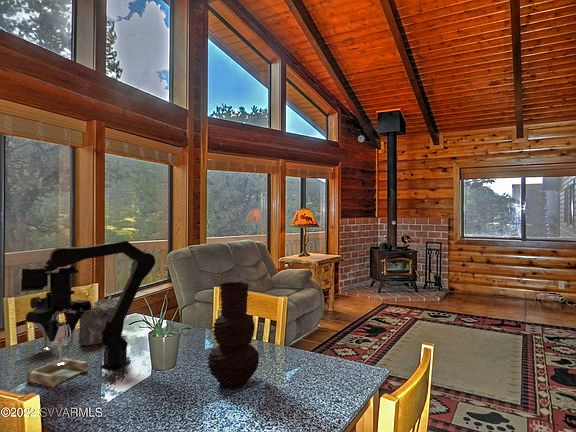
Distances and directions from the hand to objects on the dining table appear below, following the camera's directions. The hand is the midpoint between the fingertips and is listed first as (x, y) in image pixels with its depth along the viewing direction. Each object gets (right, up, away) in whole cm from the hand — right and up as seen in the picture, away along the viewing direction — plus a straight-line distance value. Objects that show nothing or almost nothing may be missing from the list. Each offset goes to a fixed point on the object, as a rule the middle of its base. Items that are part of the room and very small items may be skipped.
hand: (60, 338), depth 120 cm
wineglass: (0, -8, 0) cm, 8 cm away
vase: (+54, -13, -4) cm, 56 cm away
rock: (-4, -12, +37) cm, 39 cm away
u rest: (-1, -12, 0) cm, 12 cm away
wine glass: (-20, -12, +24) cm, 34 cm away
